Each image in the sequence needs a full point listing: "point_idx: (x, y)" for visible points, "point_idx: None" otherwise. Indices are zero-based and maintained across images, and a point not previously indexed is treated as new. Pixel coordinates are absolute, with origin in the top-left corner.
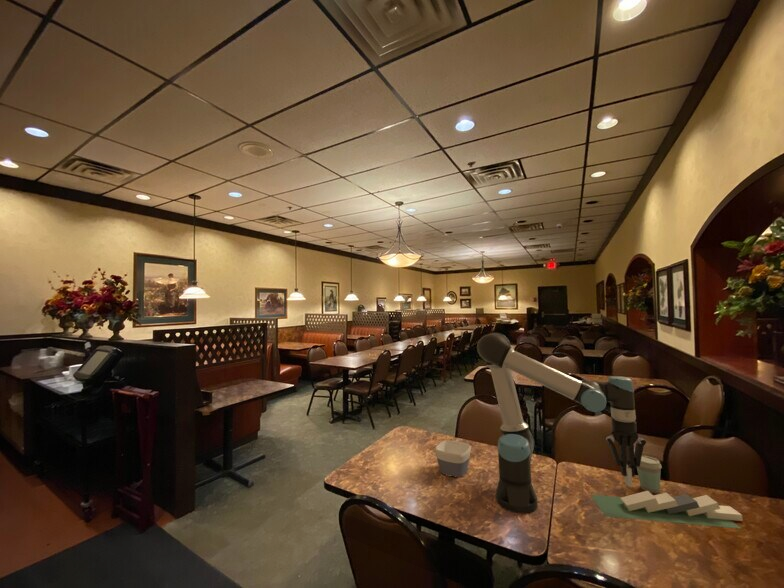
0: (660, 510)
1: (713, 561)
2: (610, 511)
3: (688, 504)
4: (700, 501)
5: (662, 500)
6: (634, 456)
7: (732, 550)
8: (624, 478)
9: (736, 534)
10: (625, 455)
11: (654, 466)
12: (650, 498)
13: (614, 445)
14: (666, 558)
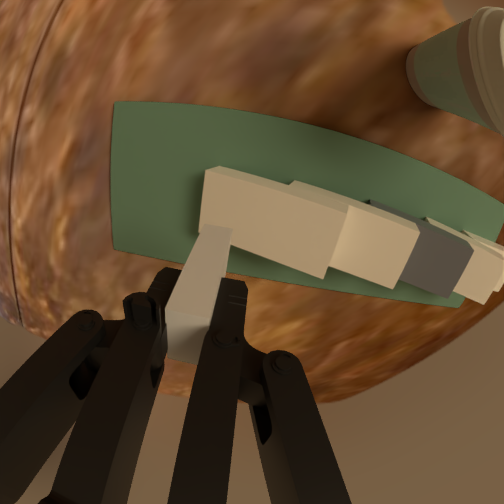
0: None
1: None
2: (138, 224)
3: (422, 287)
4: (472, 271)
5: (359, 259)
6: (275, 437)
7: (356, 361)
8: (197, 242)
9: (429, 320)
10: (133, 458)
11: None
12: (303, 266)
13: (17, 494)
14: (191, 371)
